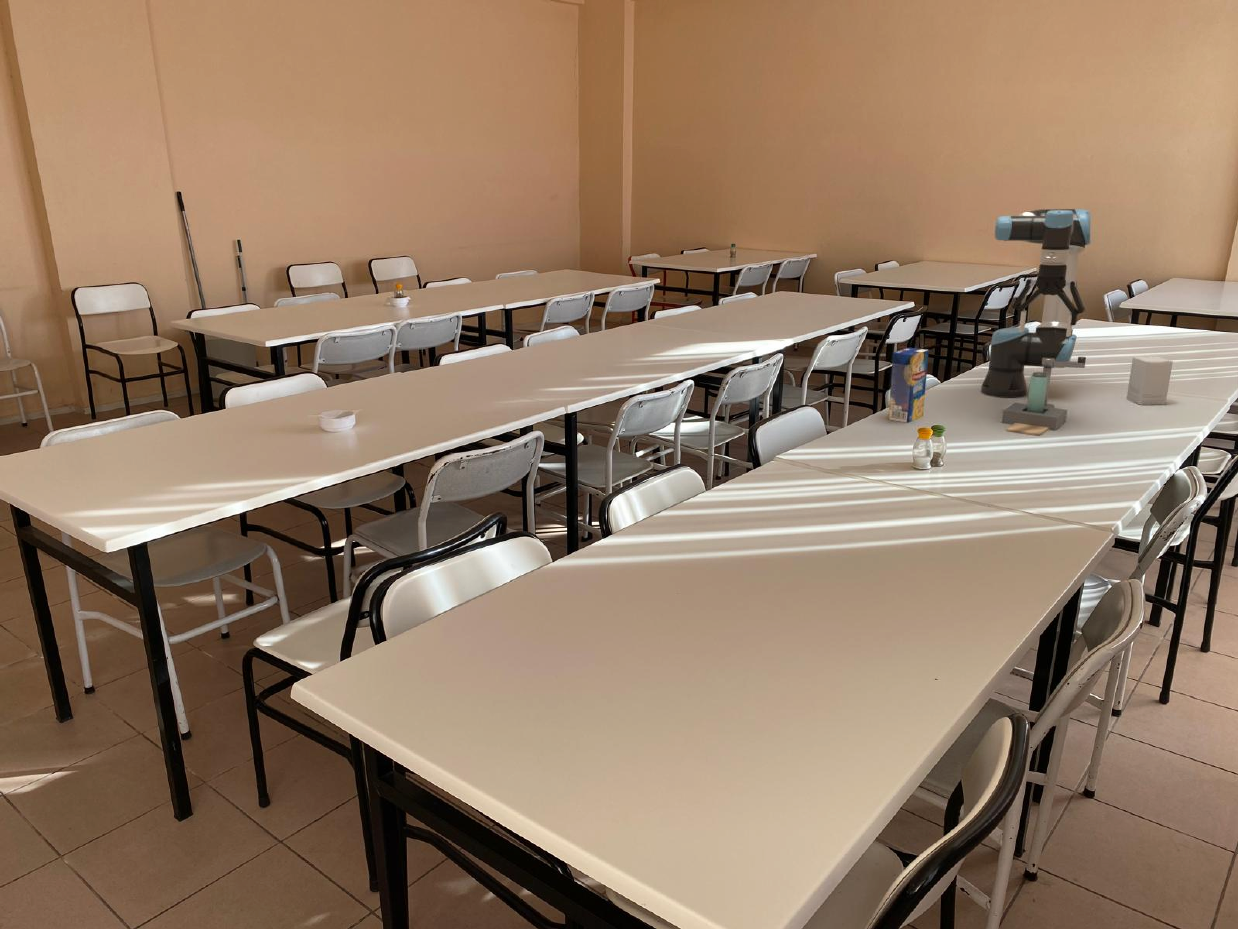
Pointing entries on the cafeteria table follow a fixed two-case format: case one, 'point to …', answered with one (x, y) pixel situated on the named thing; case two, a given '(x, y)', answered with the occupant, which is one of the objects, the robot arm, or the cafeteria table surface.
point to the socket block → (1047, 419)
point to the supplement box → (1149, 380)
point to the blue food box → (908, 384)
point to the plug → (1037, 392)
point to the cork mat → (1027, 429)
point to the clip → (1064, 363)
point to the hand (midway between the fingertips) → (1044, 334)
